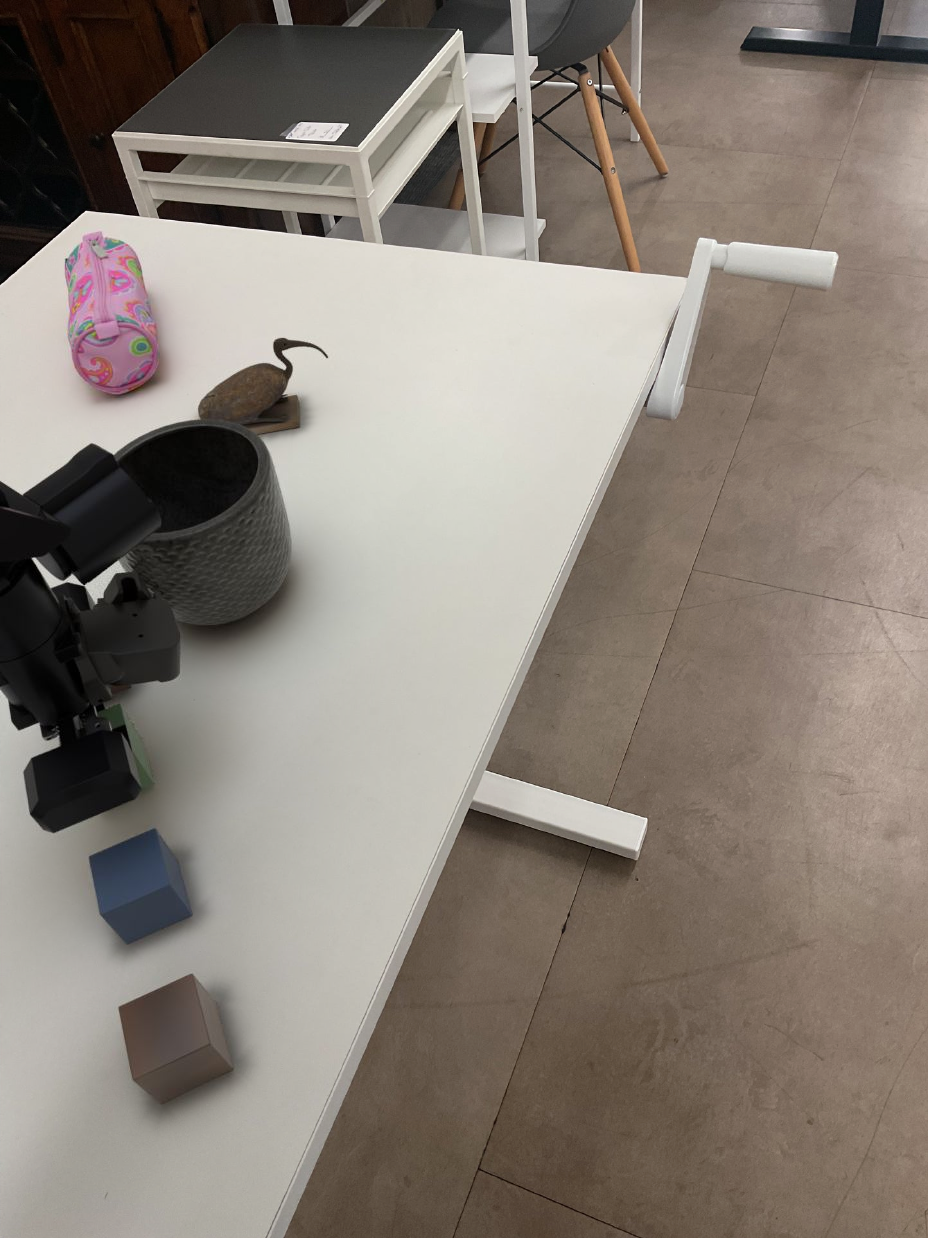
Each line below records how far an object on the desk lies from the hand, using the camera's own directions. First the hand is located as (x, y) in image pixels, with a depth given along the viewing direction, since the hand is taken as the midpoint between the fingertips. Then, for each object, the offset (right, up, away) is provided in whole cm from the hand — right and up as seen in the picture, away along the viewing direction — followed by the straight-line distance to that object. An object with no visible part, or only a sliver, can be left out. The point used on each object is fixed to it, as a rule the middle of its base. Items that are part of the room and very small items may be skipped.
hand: (113, 766), depth 72 cm
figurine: (+6, +30, +28) cm, 42 cm away
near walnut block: (+9, -15, -12) cm, 21 cm away
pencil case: (-13, +41, +41) cm, 59 cm away
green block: (0, -1, +1) cm, 1 cm away
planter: (+5, +13, +13) cm, 19 cm away
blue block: (+4, -8, -5) cm, 11 cm away
